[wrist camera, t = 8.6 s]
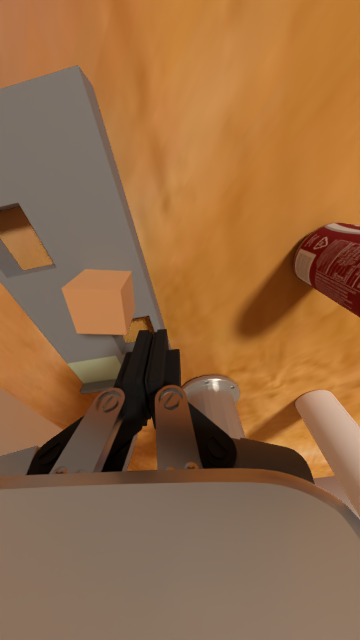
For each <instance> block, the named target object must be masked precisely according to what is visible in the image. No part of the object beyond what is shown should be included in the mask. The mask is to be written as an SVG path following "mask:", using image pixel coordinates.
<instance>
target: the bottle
mask: <svg viewBox="0 0 360 640" xmlns="http://www.w3.org/2000/svg"><path fill="white" fill-rule="evenodd" d="M295 407H296V409H297V411H298V412H299V414H300V416H301V418H302V419H303V421H304V423H305V424H306V426H307V428H308V430H309V431H310V433H311V435H312V436H313V438H314V440H315V442H316V443H317V445H318V447H319V448H320V450H321V452H322V454H323V455H324V457H325V459H326V460H327V462H328V464H329V466H330V467H331V469H332V471H333V472H334V474H335V476H336V477H337V479H338V481H339V483H340V484H341V486H342V488H343V489H344V491H345V493H346V495H347V496H348V498H349V500H350V501H351V503H352V505H353V507H354V508H355V510H356V511H357V513H358V514H359V516H360V427H359V426H358V425H357V423H356V422H355V421H354V420H353V418H352V417H351V416H350V415H349V414H348V412H347V411H346V410H345V409H344V407H343V406H342V405H341V404H340V402H339V401H338V400H337V399H336V398H335V396H334V395H333V394H332V393H331V392H330V391H327V390H315V391H311V392H308V393H305V394H303V395H302V396H300V397H299V398H298V399H297V400H296V401H295Z"/></svg>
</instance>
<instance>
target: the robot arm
mask: <svg viewBox="0 0 360 640" xmlns="http://www.w3.org/2000/svg"><path fill="white" fill-rule="evenodd" d="M239 398H240V390H239V388H238V385H237V384H236V383H235V382H234V381H233V380H231V379H229V378H227V377H223V376H217V375H208V376H202V377H198V378H195V379H193V380H191V381H189V382H187V383H186V384H185V385H184V386H183V387H182V388H181V368H180V352H179V349H174V350H169V345H168V337H167V330H166V329H158V330H157V332H154V335H153V334H152V332H149V330H140V331H139V333H138V336H137V339H136V342H135V345H134V348H133V351H132V352H127V353H126V354H125V357H124V360H123V363H122V365H121V368H120V371H119V373H118V376H117V379H116V381H115V384H114V387H113V388H109V389H106V390H104V391H102V392H101V393H100V394H99V395H97V397H96V398H95V399H94V401H93V402H92V404H91V406H90V407H89V409H88V411H87V412H86V414H85V415H84V416H83V417H81V418H80V419H79V420H77V421H76V422H74V423H73V424H72V425H70V426H69V427H67V428H66V429H65V430H63V431H62V432H60V433H59V434H58V435H56V436H55V437H53V438H52V439H51V440H49V441H48V442H47V443H46V444H44V445H43V446H42V447H40V448H39V447H38V446H35V447H31V448H28V449H24V450H20V451H17V452H13V453H10V454H6V455H2V456H0V640H360V519H359V518H358V517H357V516H356V515H355V514H354V513H353V512H352V510H351V509H350V508H349V507H348V506H346V504H344V503H343V502H342V501H341V500H340V499H338V498H337V497H335V496H334V495H332V494H331V493H330V492H328V491H326V490H324V489H322V488H321V487H319V486H317V485H315V483H314V480H313V477H312V474H311V470H310V468H309V466H308V464H307V462H306V461H305V460H304V458H303V457H302V456H301V455H300V454H299V453H297V452H296V451H295V450H293V449H290V448H287V447H283V446H278V445H274V444H269V443H264V442H259V441H255V440H250V439H246V438H245V435H244V431H243V428H242V425H241V421H240V418H239V415H238V411H237V408H236V405H235V404H236V402H237V401H238V400H239ZM151 416H152V420H153V424H154V428H155V429H156V443H157V467H158V470H149V471H127V468H128V465H129V462H130V459H131V456H132V452H133V449H134V446H135V443H136V440H137V435H138V434H137V433H138V432H139V431H140V430H141V429H142V426H147V420H148V419H151Z"/></svg>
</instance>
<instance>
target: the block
mask: <svg viewBox="0 0 360 640" xmlns="http://www.w3.org/2000/svg"><path fill="white" fill-rule="evenodd" d="M61 289H62V291H63V294H64V297H65V300H66V303H67V306H68V309H69V312H70V315H71V317H72V320H73V323H74V326H75V329H76V332H77V334H113V335H127V333H128V330H129V327H130V324H131V321H132V318H133V315H134V313H135V301H134V290H133V280H132V271H114V270H93V269H85V270H84V271H82V272H81V273H80V274H79V275H77V276H76V277H75V278H74V279H72V280H71V281H70V282H69V283H67V284H66V285H65V286H64V287H62V288H61Z"/></svg>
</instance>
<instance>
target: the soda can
mask: <svg viewBox="0 0 360 640" xmlns="http://www.w3.org/2000/svg"><path fill="white" fill-rule="evenodd" d="M293 269H294V273H295V274H296V276H297V277H298V278H299V279H301V280H302V281H304V282H305V283H307V284H308V285H310V286H312V287H313V288H315V289H316V290H318V291H319V292H321V293H322V294H324V295H326V296H327V297H329V298H330V299H332V300H333V301H335V302H337V303H338V304H340V305H341V306H343V307H344V308H346V309H348V310H349V311H351V312H352V313H354V314H355V315H357V316H359V317H360V226H358V225H351V224H344V223H331V224H327V225H324V226H322V227H320V228H318V229H317V230H315V231H314V232H312V233H311V234H310V235H309V236H308V237H306V239H305V240H304V241H303V242H302V243H301V245H300V246H299V248H298V249H297V251H296V254H295V256H294V260H293Z"/></svg>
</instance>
